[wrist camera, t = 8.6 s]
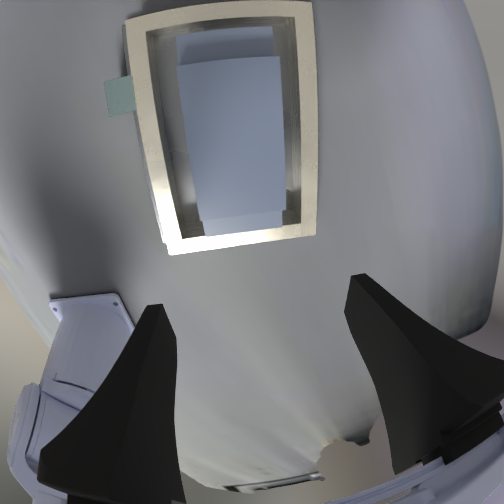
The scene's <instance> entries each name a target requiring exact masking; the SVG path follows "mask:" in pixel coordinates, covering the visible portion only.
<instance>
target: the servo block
mask: <svg viewBox="0 0 504 504" xmlns="http://www.w3.org/2000/svg"><path fill="white" fill-rule="evenodd" d="M175 36H176V46H177V55H178V64H179V66H176V68H177V76H178V84H179V92H180V100H181V107H182V114H183V121H184V128H185V134H186V141H187V147H188V154H189V160H190V166H191V172H192V178H193V184H194V189H195V195H196V201H197V206H198V212H199V217H200V221H202V222H203V227H204V232H205V238H207V237H214V236H221V235H228V234H235V233H242V232H250V231H257V230H265V229H273V228H280V227H282V210H286V178H285V148H284V124H283V104H282V86H281V70H280V56H274V44H273V32H272V26H262V27H240V28H227V29H217V30H208V31H200V32H193V33H187V34H181V35H175Z"/></svg>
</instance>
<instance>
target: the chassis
mask: <svg viewBox="0 0 504 504" xmlns="http://www.w3.org/2000/svg"><path fill="white" fill-rule="evenodd" d="M262 26H272V32H273V44H274V56H280V70H281V86H282V104H283V124H284V148H285V178H286V210H282V227H280V228H273V229H265V230H257V231H250V232H242V233H235V234H228V235H221V236H214V237H207V238H205V232H204V227H203V222H202V221H200V217H199V212H198V206H197V201H196V195H195V189H194V184H193V178H192V172H191V166H190V160H189V154H188V147H187V141H186V134H185V128H184V121H183V114H182V107H181V100H180V92H179V84H178V76H177V68H176V66H179V64H178V55H177V46H176V36H175V35H181V34H187V33H193V32H200V31H208V30H217V29H227V28H240V27H262ZM122 32H123V42H124V51H125V60H126V67H127V75H128V76H125V77H121V78H118V79H114V80H111V81H108V82H104V86H105V93H106V99H107V104H108V110H109V115H110V117H112V116H115V115H119V114H123V113H127V112H131V111H133V113H134V119H135V124H136V129H137V135H138V140H139V145H140V150H141V154H142V159H143V164H144V168H145V173H146V177H147V181H148V186H149V190H150V194H151V198H152V202H153V206H154V210H155V214H156V218H157V221H158V225H159V229H160V232H161V236H162V240H163V243H165V242H166V243H167V246H168V250H169V253H170V255H173V254H180V253H187V252H194V251H201V250H208V249H215V248H222V247H230V246H237V245H244V244H251V243H259V242H266V241H273V240H281V239H288V238H296V237H303V236H311V235H316V222H317V199H318V153H319V126H318V81H317V59H316V42H315V28H314V16H313V6H312V2H304V1H284V0H251V1H231V2H219V3H209V4H201V5H194V6H187V7H181V8H175V9H170V10H165V11H160V12H156V13H151V14H147V15H143V16H139V17H135V18H131V19H128V20H125V25H122Z"/></svg>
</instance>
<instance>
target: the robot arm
mask: <svg viewBox="0 0 504 504" xmlns="http://www.w3.org/2000/svg"><path fill="white" fill-rule="evenodd" d="M115 302H117V303H115ZM49 306H50V308H51V309H52V311H53V312H54V314H55V316H56V317H57V319H58V320H59V322H60V325H59V328H58V330H57V333H56V336H55V338H54V341H53V344H52V347H51V350H50V353H49V356H48V359H47V362H46V365H45V368H44V372H43V375H42V378H41V382H40V384H39V385H37V384H35V383H31V384H29V385H26V386H24V387H23V389H22V391H21V394H20V396H19V399H18V402H17V405H16V408H15V411H14V415H13V419H12V424H11V428H10V435H9V445H8V450H7V461H8V464H9V467H10V471H11V473H12V474H13V476H14V477H15V478H16V480H17V481H18V482H19V483H20V484H21V485H22V487H23V488H24V489H25V490H26V491H27V492H28V494H29V495H30V496H31V497H32V498H33V502H32V504H186V500H185V495H184V491H183V486H182V481H181V475H180V469H179V463H178V455H177V447H176V437H175V424H174V405H175V388H176V373H177V342H176V336H175V334H174V331H173V329H172V326H171V324H170V322H169V319H168V317H167V314H166V312H165V309H164V307H163V304H155V305H147V306H146V308H145V310H144V311H143V313H142V315H141V317H140V319H139V321H138V323H137V325H136V327H134V325H133V323H132V321H131V319H130V317H129V315H128V313H127V311H126V309H125V307H124V305H123V303H122V301H121V299H120V297H119V296H118V295H117V294H115V293H109V294H100V295H91V296H81V297H72V298H62V299H52V300H50V301H49ZM344 313H345V316H346V320H347V323H348V326H349V329H350V332H351V334H352V336H353V339H354V341H355V343H356V345H357V347H358V349H359V351H360V354H361V356H362V358H363V360H364V362H365V364H366V366H367V369H368V371H369V373H370V375H371V377H372V380H373V382H374V385H375V388H376V391H377V394H378V398H379V401H380V404H381V408H382V412H383V416H384V419H385V424H386V429H387V433H388V438H389V444H390V450H391V458H392V467H393V470H394V473H395V475H397V474H399V473H402V472H404V471H406V470H408V469H411V468H413V467H415V466H417V465H419V464H421V463H423V466H422V467H420V468H418V469H416V470H414V471H411V472H409V473H407V474H405V475H403V476H401V477H398V478H396V479H394V480H391V481H389V482H386V483H384V484H381V485H379V486H376V487H373V488H371V489H368V490H365V491H362V492H360V493H357V494H353V495H350V496H347V497H344V498H341V499H337V500H333V501H330V502H326V503H322V504H374V503H377V502H380V501H382V500H385V499H387V498H390V497H392V496H394V495H396V494H399V493H401V492H403V491H405V490H408V489H410V488H412V487H413V488H412V489H411V492H410V494H408V495H404V496H402V497H399V498H397V499H394V500H392V501H389V502H387V503H385V504H482V503H483V502H484V501H485V500H486V499H487V498H488V497H489V496H490V495H491V494H492V493H493V492H494V491H495V490H496V489H497V488H498V487H499V486H500V485H501V484H502V483H503V482H504V414H503V415H500V413H499V411H500V410H501V409H502V406H501V404H500V401H501V400H502V399H503V398H504V360H501V359H497V358H495V357H491V356H489V355H487V354H484V353H482V352H479V351H477V350H475V349H473V348H470V347H468V346H466V345H464V344H463V343H461V342H459V341H457V340H455V339H453V338H451V337H450V336H448V335H446V334H445V333H443V332H442V331H440V330H438V329H437V328H435V327H434V326H432V325H431V324H429V323H428V322H426V321H425V320H423V319H422V318H421V317H419V316H418V315H417V314H415V313H414V312H413V311H411V310H410V309H409V308H407V307H406V306H405V305H404V304H402V303H401V302H400V301H399V300H397V299H396V298H395V297H394V296H392V295H391V294H390V293H389V292H388V291H386V290H385V289H384V288H383V287H381V286H380V285H379V284H378V283H377V282H375V281H374V280H373V279H372V278H370V277H369V276H368V275H367V274H365V273H364V274H358V275H353V276H351V279H350V285H349V290H348V295H347V300H346V305H345V310H344Z"/></svg>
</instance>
